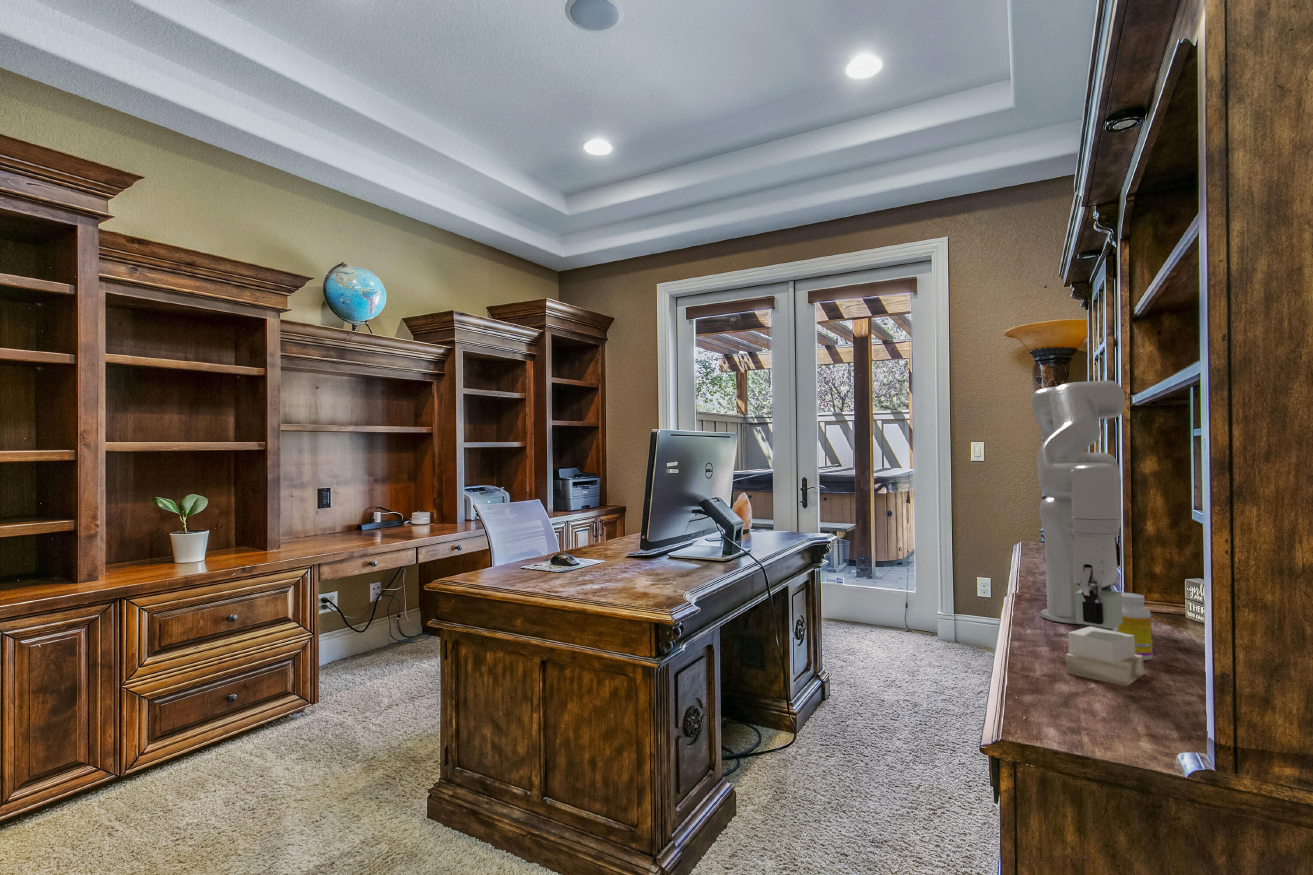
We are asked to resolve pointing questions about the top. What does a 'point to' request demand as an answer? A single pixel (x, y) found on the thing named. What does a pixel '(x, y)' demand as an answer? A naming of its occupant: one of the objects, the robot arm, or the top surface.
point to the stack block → (1110, 609)
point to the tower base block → (1106, 669)
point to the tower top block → (1101, 644)
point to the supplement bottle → (1137, 623)
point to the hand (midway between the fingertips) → (1099, 618)
